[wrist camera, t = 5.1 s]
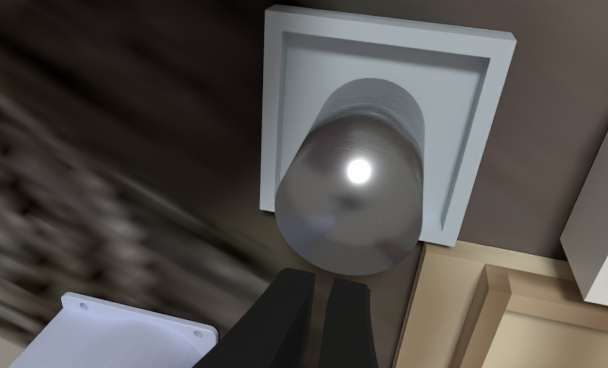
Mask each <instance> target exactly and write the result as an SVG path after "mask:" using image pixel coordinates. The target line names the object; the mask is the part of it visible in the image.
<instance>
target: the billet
mask: <svg viewBox="0 0 608 368" xmlns="http://www.w3.org/2000/svg"><path fill="white" fill-rule="evenodd" d="M424 146H425V123H424V117H423V114H422V111H421V109H420V107H419V105H418V103H417V102H416V100H415V99H414V98H413V97H412V95H411V94H410V93H408V92H407V91H406V90H405V89H403V88H402V87H400V86H399V85H397V84H395V83H393V82H390V81H387V80H384V79H379V78H362V79H356V80H353V81H350V82H348V83H346V84H344V85H342V86H340V87H339V88H337V89H336V90H335V91H334V92H333V93H332V94H331V95H330V96H329V97H328V98H327V100H326V101H325V103H324V104H323V106H322V108H321V110H320V112H319V113H318V115H317V117H316V119H315V121H314V123H313V124H312V126H311V128H310V130H309V132H308V133H307V135H306V137H305V139H304V141H303V142H302V144H301V146H300V148H299V150H298V151H297V153H296V155H295V157H294V159H293V160H292V162H291V164H290V166H289V168H288V169H287V171H286V173H285V175H284V177H283V178H282V180H281V182H280V184H279V186H278V189H277V192H276V196H275V203H274V206H275V216H276V221H277V224H278V227H279V229H280V231H281V233H282V235H283V237H284V238H285V240H286V241H287V243H288V244H289V245H290V246H291V248H292V249H293V250H294V251H295V252H296V253H298V254H299V255H300V256H301V257H302V258H304V259H305V260H307V261H308V262H310V263H311V264H313V265H315V266H317V267H319V268H322V269H324V270H327V271H330V272H334V273H337V274H343V275H354V276H358V275H369V274H375V273H378V272H382V271H385V270H387V269H389V268H391V267H393V266H395V265H397V264H398V263H400V262H401V261H402V260H404V259H405V258H406V257H407V256H408V255H409V254H410V253H411V251H412V250H413V249H414V247H415V245H416V244H417V242H418V240H419V237H420V234H421V230H422V224H423V185H424Z"/></svg>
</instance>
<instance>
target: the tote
mask: <svg viewBox="0 0 608 368" xmlns="http://www.w3.org/2000/svg"><path fill="white" fill-rule="evenodd" d="M516 42H517V41H516V39H515V38H514V36H513V35H512V33H511V32H503V31H495V30H486V29H478V28H470V27H461V26H453V25H445V24H436V23H428V22H420V21H411V20H403V19H395V18H386V17H378V16H370V15H361V14H353V13H345V12H336V11H328V10H320V9H311V8H303V7H295V6H286V5H278V4H275V5H273V6H271V7H270V8H268V9H266V10H265V33H264V71H263V109H262V147H261V185H260V209H262V210H267V211H272V212H275V206H274V203H275V196H276V192H277V189H278V186H279V184H280V182H281V180H282V178H283V177H284V175H285V173H286V171H287V169H288V168H289V166H290V164H291V162H292V160H293V159H294V157H295V155H296V153H297V151H298V150H299V148H300V146H301V144H302V142H303V141H304V139H305V137H306V135H307V133H308V132H309V130H310V128H311V126H312V124H313V123H314V121H315V119H316V117H317V115H318V113H319V112H320V110H321V108H322V106H323V104H324V103H325V101H326V100H327V98H328V97H329V96H330V95H331V94H332V93H333V92H334V91H335V90H336V89H337V88H339V87H340V86H342V85H344V84H346V83H348V82H350V81H353V80H356V79H362V78H379V79H384V80H387V81H390V82H393V83H395V84H397V85H399V86H400V87H402V88H403V89H405V90H406V91H407V92H408V93H410V94H411V95H412V97H413V98H414V99H415V100H416V102H417V103H418V105H419V107H420V109H421V111H422V114H423V117H424V123H425V146H424V185H423V224H422V230H421V234H420V237H419V240H421V241H426V242H432V243H437V244H442V245H447V246H452V247H455V244H456V240H457V237H458V234H459V230H460V227H461V224H462V220H463V217H464V214H465V210H466V207H467V204H468V201H469V197H470V194H471V191H472V187H473V184H474V181H475V177H476V174H477V171H478V167H479V164H480V161H481V158H482V154H483V151H484V148H485V144H486V141H487V138H488V134H489V131H490V128H491V124H492V121H493V118H494V115H495V111H496V108H497V105H498V101H499V98H500V95H501V91H502V88H503V85H504V82H505V78H506V75H507V72H508V68H509V65H510V62H511V58H512V55H513V52H514V48H515V45H516Z"/></svg>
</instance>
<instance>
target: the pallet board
mask: <svg viewBox="0 0 608 368" xmlns="http://www.w3.org/2000/svg"><path fill="white" fill-rule="evenodd" d="M392 368H608V306H607V305H602V304H597V303H592V302H588V301H584V299H583V297H582V294H581V292H580V289H579V287H578V284H577V282H576V279H575V276H574V274H573V271H572V269H571V266H570V264H569V262H568V261H563V260H557V259H552V258H547V257H542V256H536V255H531V254H526V253H521V252H516V251H510V250H505V249H500V248H495V247H489V246H484V245H479V244H474V243H469V242H463V241H458V240H456V244H455V247H452V246H447V245H442V244H437V243H432V242H426V241H424V245H423V249H422V253H421V257H420V261H419V265H418V268H417V272H416V276H415V280H414V284H413V288H412V292H411V296H410V299H409V303H408V307H407V311H406V315H405V319H404V323H403V327H402V330H401V334H400V338H399V342H398V346H397V350H396V354H395V358H394V361H393V365H392Z"/></svg>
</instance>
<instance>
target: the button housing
mask: <svg viewBox="0 0 608 368" xmlns="http://www.w3.org/2000/svg"><path fill="white" fill-rule="evenodd" d="M560 241H561V244H562V246H563V249H564V251H565V254H566V256H567V259H568V261H569V264H570V266H571V269H572V271H573V274H574V276H575V279H576V282H577V284H578V287H579V289H580V292H581V294H582V297H583V299H584V301H588V302H592V303H597V304H602V305H607V306H608V131H607V134H606V136H605V138H604V140H603V143H602V145H601V147H600V149H599V151H598V154H597V156H596V158H595V160H594V163H593V165H592V167H591V169H590V172H589V174H588V176H587V178H586V181H585V183H584V185H583V187H582V190H581V192H580V194H579V196H578V199H577V201H576V203H575V205H574V208H573V210H572V212H571V214H570V217H569V219H568V221H567V223H566V226H565V228H564V230H563V232H562V234H561V237H560Z"/></svg>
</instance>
